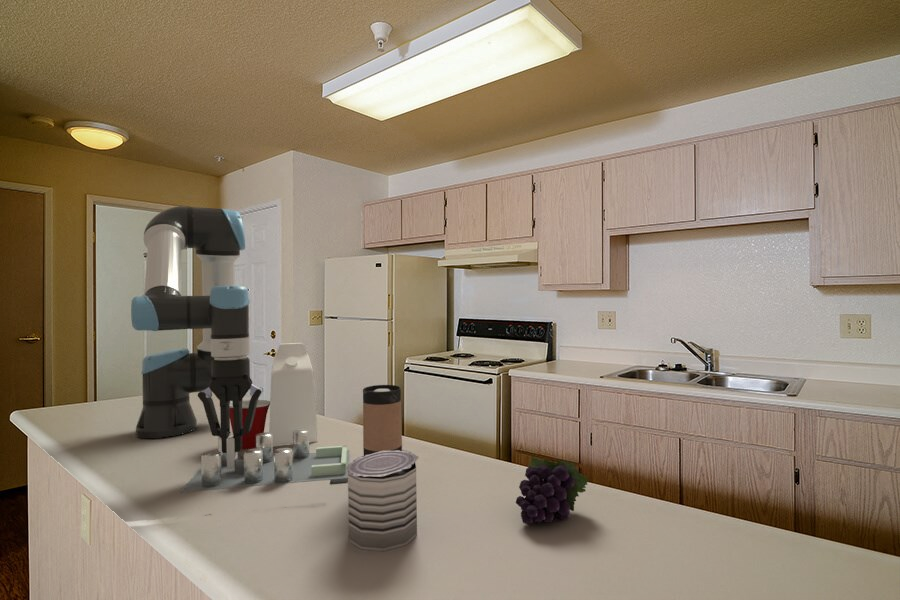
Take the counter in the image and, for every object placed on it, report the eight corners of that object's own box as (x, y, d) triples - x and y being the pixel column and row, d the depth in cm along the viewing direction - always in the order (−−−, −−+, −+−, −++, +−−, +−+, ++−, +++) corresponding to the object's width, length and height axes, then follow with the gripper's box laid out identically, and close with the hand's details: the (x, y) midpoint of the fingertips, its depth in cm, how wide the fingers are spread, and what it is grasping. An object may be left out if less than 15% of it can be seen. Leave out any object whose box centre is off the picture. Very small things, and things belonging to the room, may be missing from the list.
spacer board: (207, 464, 110) (207, 460, 110) (349, 453, 116) (349, 450, 116) (179, 496, 92) (179, 492, 92) (347, 481, 98) (347, 477, 98)
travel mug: (408, 483, 97) (407, 385, 97) (392, 498, 90) (390, 393, 90) (375, 479, 100) (374, 383, 100) (356, 493, 93) (355, 390, 92)
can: (408, 555, 70) (407, 474, 70) (335, 548, 72) (334, 470, 72) (425, 519, 82) (424, 449, 82) (362, 514, 84) (361, 446, 84)
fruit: (512, 541, 80) (549, 490, 91) (570, 551, 73) (602, 494, 85) (495, 486, 79) (534, 441, 90) (552, 491, 72) (586, 442, 84)
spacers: (222, 459, 110) (222, 434, 110) (310, 453, 114) (309, 428, 114) (197, 490, 93) (197, 459, 93) (301, 481, 97) (301, 452, 97)
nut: (239, 467, 105) (239, 453, 105) (260, 465, 106) (260, 452, 106) (233, 476, 100) (232, 461, 100) (255, 474, 101) (255, 460, 101)
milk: (314, 432, 135) (313, 340, 134) (317, 444, 124) (316, 344, 123) (269, 437, 130) (267, 342, 130) (268, 450, 120) (266, 346, 119)
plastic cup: (281, 444, 124) (280, 398, 124) (247, 457, 114) (246, 407, 114) (251, 439, 128) (250, 395, 128) (216, 452, 119) (215, 404, 118)
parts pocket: (316, 456, 112) (316, 447, 112) (346, 453, 114) (346, 445, 114) (311, 476, 99) (311, 466, 99) (345, 473, 101) (345, 464, 101)
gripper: (191, 360, 97) (193, 475, 98) (258, 358, 100) (260, 470, 100) (203, 356, 105) (205, 463, 105) (265, 354, 107) (267, 459, 107)
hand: (232, 466), depth 102 cm, fingers closed
